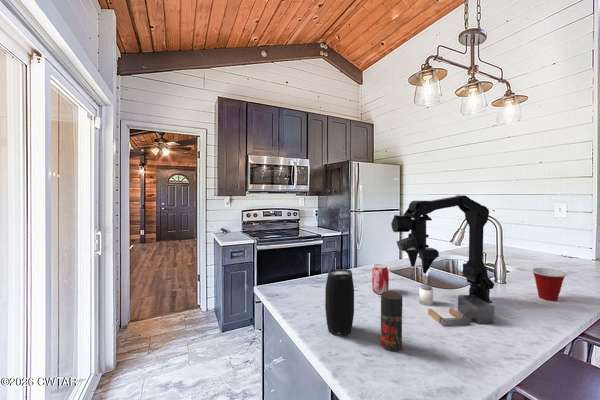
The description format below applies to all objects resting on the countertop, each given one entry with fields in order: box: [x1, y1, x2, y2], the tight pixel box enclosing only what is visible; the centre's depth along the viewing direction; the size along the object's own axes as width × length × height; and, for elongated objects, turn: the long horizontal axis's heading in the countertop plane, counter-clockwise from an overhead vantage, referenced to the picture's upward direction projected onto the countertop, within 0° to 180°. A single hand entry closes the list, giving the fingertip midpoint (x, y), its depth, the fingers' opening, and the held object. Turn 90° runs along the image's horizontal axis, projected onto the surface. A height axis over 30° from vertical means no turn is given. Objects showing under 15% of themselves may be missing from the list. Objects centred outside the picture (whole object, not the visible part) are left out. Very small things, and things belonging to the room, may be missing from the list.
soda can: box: [371, 263, 390, 295], centre depth 120 cm, size 7×7×12 cm
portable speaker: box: [324, 268, 355, 336], centre depth 87 cm, size 9×9×20 cm
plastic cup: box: [531, 267, 567, 302], centre depth 113 cm, size 11×11×12 cm
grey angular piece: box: [427, 294, 495, 327], centre depth 97 cm, size 19×12×6 cm, turn 95°
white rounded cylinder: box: [418, 284, 434, 307], centre depth 109 cm, size 5×5×7 cm
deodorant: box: [380, 291, 403, 353], centre depth 78 cm, size 6×6×15 cm
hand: (418, 269), depth 109 cm, fingers open, 9 cm apart
